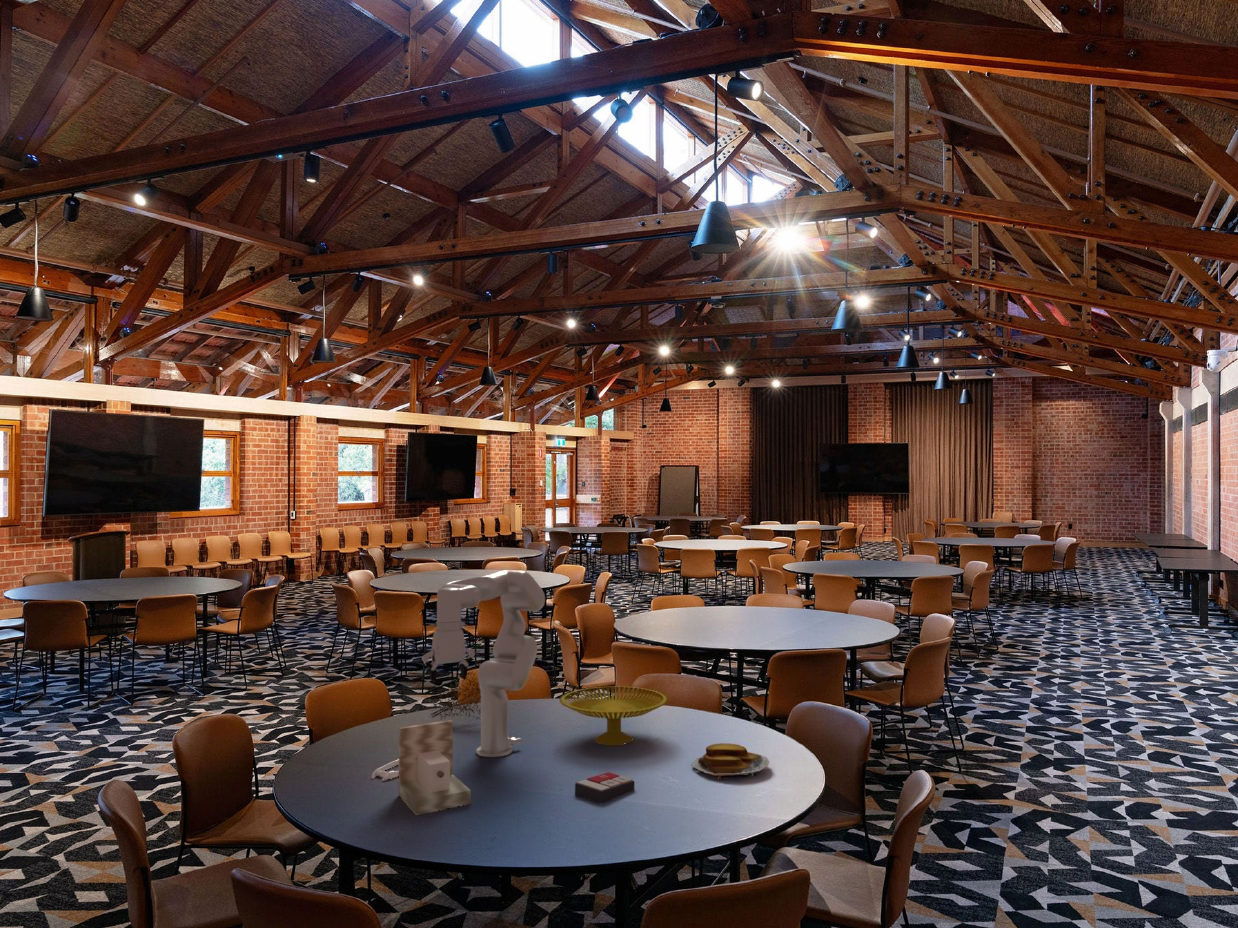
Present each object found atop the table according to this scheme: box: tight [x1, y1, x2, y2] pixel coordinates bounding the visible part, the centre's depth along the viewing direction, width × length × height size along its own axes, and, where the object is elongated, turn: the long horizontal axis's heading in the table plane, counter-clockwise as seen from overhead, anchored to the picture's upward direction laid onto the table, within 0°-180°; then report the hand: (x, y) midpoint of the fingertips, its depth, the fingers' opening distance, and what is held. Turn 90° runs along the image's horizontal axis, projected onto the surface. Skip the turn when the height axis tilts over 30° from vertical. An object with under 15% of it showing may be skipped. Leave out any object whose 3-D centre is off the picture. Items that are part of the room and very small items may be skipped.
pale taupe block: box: [417, 750, 450, 793], centre depth 237 cm, size 6×13×8 cm, turn 30°
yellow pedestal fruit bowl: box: [558, 685, 669, 746], centre depth 295 cm, size 40×40×15 cm
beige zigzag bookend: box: [398, 719, 472, 816], centre depth 237 cm, size 16×18×20 cm
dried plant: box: [428, 655, 509, 721], centre depth 317 cm, size 30×31×45 cm
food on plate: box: [691, 743, 770, 781], centre depth 263 cm, size 25×25×7 cm
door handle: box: [371, 758, 399, 782], centre depth 265 cm, size 3×10×25 cm
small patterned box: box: [574, 771, 635, 804], centre depth 242 cm, size 11×4×15 cm
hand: (448, 680), depth 257 cm, fingers open, 9 cm apart
